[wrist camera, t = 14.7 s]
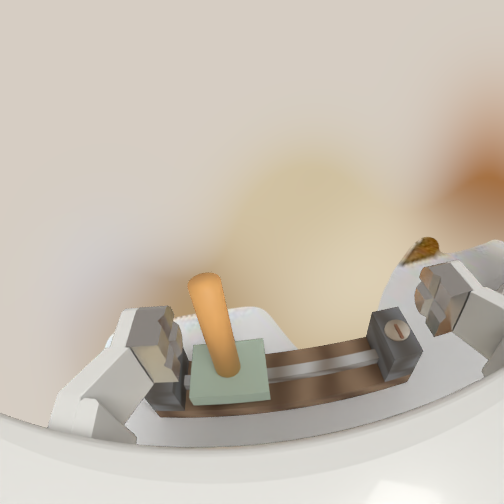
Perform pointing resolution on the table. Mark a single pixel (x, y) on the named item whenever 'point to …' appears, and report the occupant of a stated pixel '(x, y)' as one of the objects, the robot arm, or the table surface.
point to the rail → (311, 373)
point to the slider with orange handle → (223, 352)
